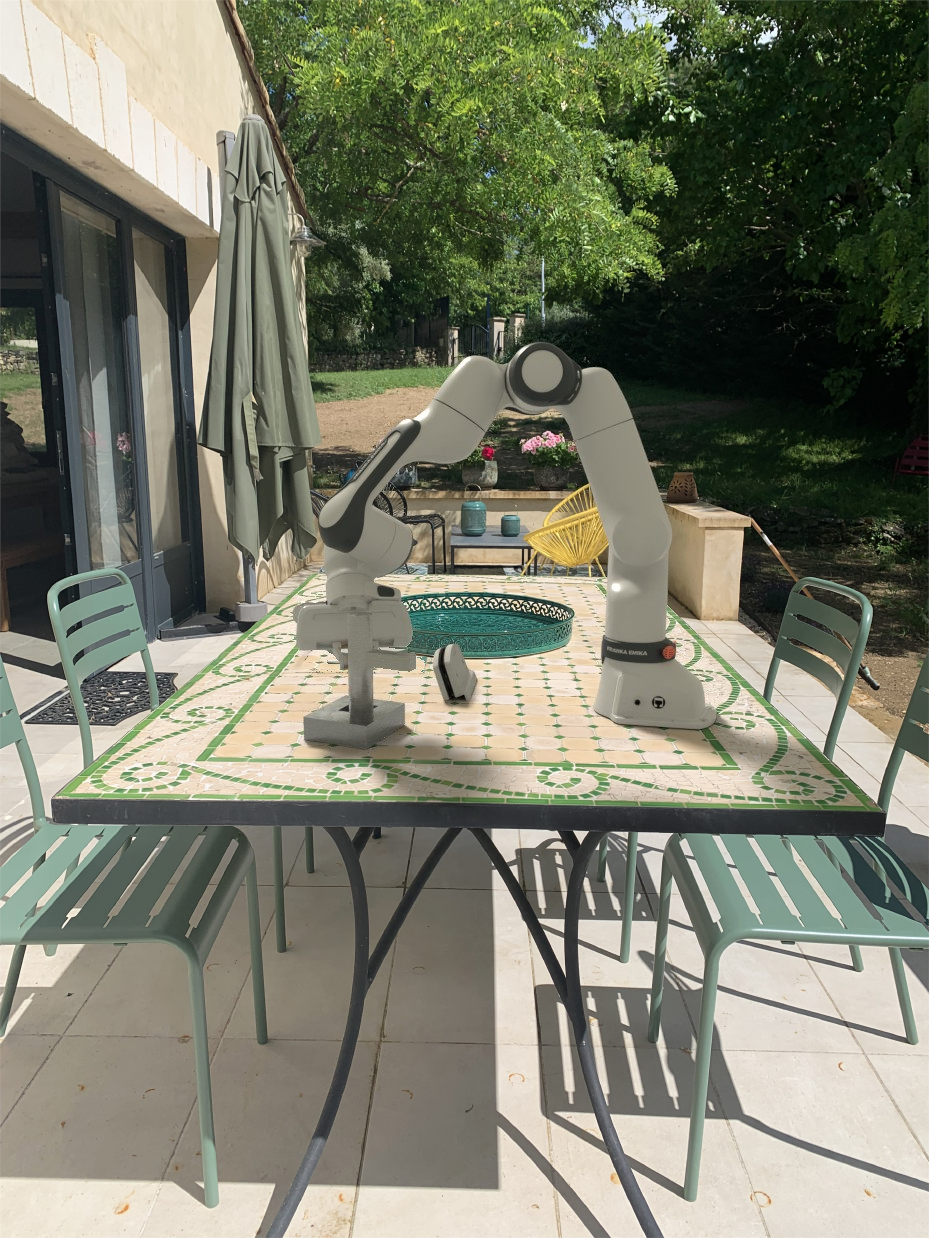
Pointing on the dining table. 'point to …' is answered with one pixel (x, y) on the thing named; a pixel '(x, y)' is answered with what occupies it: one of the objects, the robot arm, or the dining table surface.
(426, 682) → the dining table surface
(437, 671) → the grey rounded block
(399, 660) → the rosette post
